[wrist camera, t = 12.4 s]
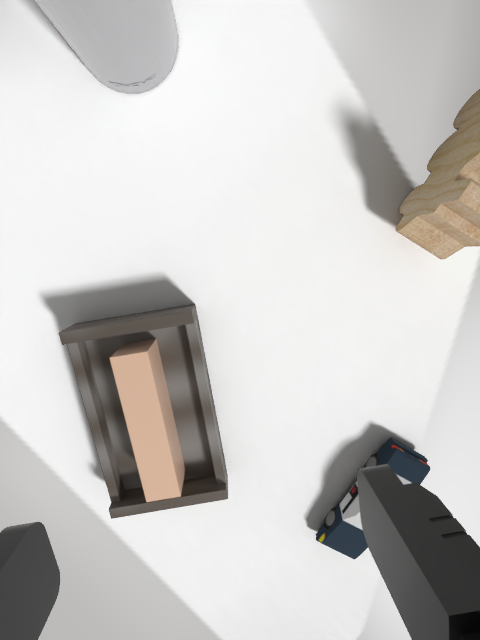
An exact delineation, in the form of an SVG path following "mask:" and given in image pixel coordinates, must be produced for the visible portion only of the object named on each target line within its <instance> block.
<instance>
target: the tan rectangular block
mask: <svg viewBox="0 0 480 640" xmlns="http://www.w3.org/2000/svg"><path fill="white" fill-rule="evenodd" d="M110 362H111V366H112V369H113V373H114V377H115V381H116V385H117V389H118V393H119V397H120V401H121V405H122V408H123V412H124V416H125V420H126V424H127V428H128V432H129V436H130V440H131V444H132V447H133V451H134V455H135V459H136V463H137V467H138V471H139V475H140V479H141V483H142V486H143V490H144V494H145V498H146V502H151V501H157V500H163V499H169V498H175V497H181V492H182V486H183V480H184V475H185V465H184V461H183V456H182V452H181V447H180V443H179V438H178V434H177V429H176V425H175V420H174V416H173V411H172V407H171V402H170V398H169V393H168V389H167V384H166V380H165V375H164V371H163V366H162V362H161V357H160V353H159V348H158V344H157V339H151V340H145V341H139V342H133V343H127V344H122V346H121V347H120V348H119V349H118V350H117V351H116V352H115V353H114V354H113V355H112V356H111V357H110Z"/></svg>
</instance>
